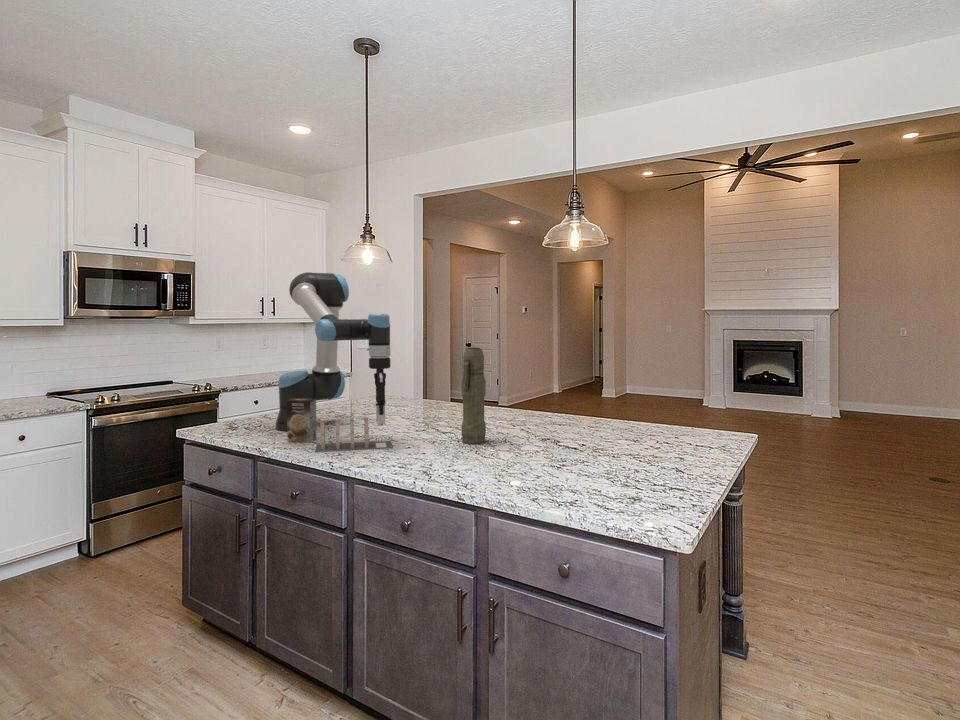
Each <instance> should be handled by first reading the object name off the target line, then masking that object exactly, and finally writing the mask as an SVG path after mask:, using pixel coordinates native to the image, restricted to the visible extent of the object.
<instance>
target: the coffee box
mask: <svg viewBox="0 0 960 720" xmlns="http://www.w3.org/2000/svg"><path fill="white" fill-rule="evenodd" d="M286 432H287V433H286V435H287V443H292V444H293V443H294V444H296V443H302V444H304V443H305V444H311V443H313V442H315V441H316V440H317V401H316V399H313V398H292V399H289V400H287V431H286Z"/></svg>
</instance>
